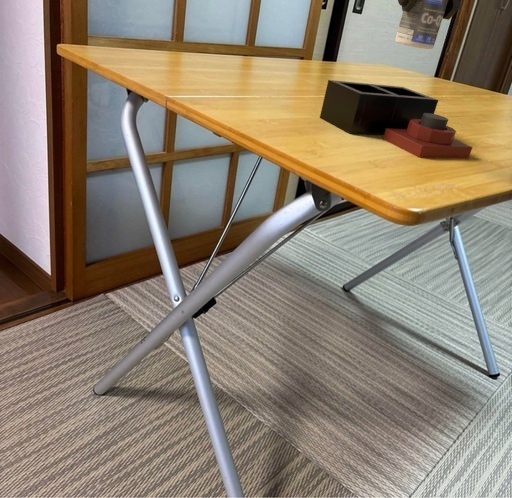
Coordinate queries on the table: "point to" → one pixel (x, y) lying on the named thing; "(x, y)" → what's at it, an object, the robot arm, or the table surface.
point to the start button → (434, 121)
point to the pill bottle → (421, 24)
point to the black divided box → (372, 107)
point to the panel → (427, 141)
